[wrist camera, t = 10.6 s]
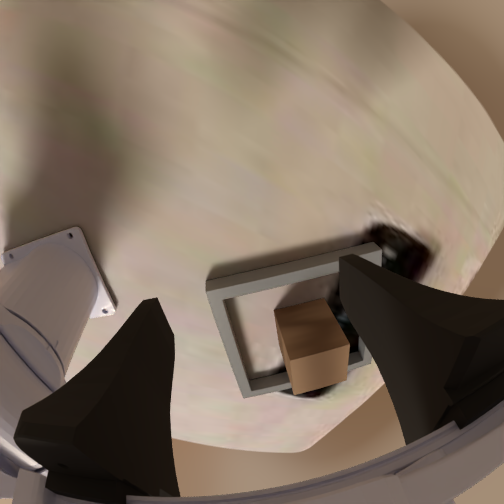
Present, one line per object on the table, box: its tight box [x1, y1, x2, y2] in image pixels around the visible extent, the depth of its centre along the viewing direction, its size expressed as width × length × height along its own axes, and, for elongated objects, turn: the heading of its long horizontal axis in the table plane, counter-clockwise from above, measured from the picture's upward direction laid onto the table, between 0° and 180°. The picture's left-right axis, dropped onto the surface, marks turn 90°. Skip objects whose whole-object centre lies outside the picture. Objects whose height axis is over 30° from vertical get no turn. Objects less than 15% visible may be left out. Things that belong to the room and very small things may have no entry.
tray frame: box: [206, 242, 382, 398], centre depth 26 cm, size 14×14×2 cm
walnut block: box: [274, 298, 350, 395], centre depth 23 cm, size 4×4×6 cm
